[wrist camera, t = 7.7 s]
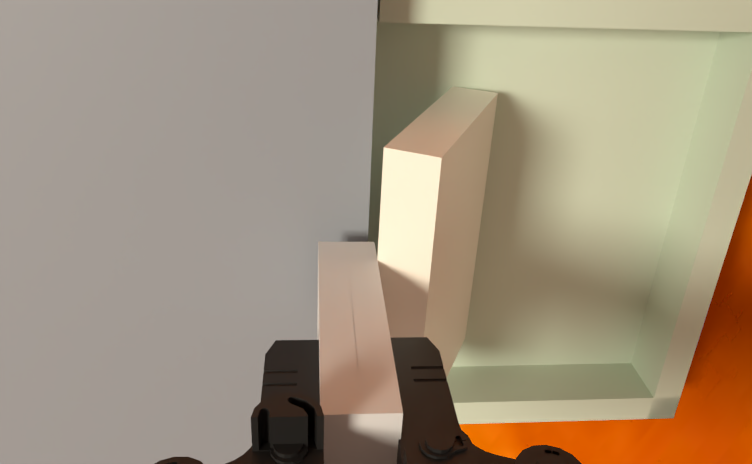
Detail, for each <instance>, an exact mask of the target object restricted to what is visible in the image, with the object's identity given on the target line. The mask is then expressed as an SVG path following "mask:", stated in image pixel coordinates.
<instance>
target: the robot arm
mask: <svg viewBox="0 0 752 464" xmlns="http://www.w3.org/2000/svg"><path fill="white" fill-rule="evenodd" d="M317 336H318V340H276V341H275V342H274V343H273V345H272V346H271V347H270V349H269V350H268V351H267V353H266V354H265V362H264V373H263V382H262V392H261V402H260V403H259V404H258V405H257V406H256V407H255V408H254V410H253V413H252V415H251V435H252V446H251V448H250V449H249V450H248V451H247V452H246V453H244V454H243V455H242V456H240V457H238V458H237V459H235V460H233V461H231V462H228V463H225V464H581V463H580V462H579V461H578V460H577V459H576V458H575V457H574V456H573V455H572V454H570V453H568V452H566V451H564V450H562V449H560V448H557V447H552V446H548V445H538V446H531V447H529V448H527V449H525V450H523V451H522V452H521V453H520V454H519V455H518V457H517V458H516V459H511V458H507V457H503V456H498V455H495V454H492V453H488V452H485V451H484V450H482V449H480V448H478V447H476V446H475V445H473V444H472V442H471V440H470V439H469V437H468V435H466V434H465V433H464V432H463V431H462V430H461V428H460V426H459V423H458V419H457V415H456V411H455V408H454V404H453V400H452V396H451V393H450V389H449V385H448V382H447V378H446V374H445V370H444V369H443V363H442V359H441V355H440V351H439V350H438V349H437V348H436V346H435V345H434V344H433V343H432V342H431V341H430V340H429V339H428V338H427V337H396V338H390V332H389V326H388V320H387V314H386V308H385V302H384V297H383V291H382V285H381V279H380V273H379V267H378V261H377V255H376V249H375V243H374V242H318V315H317ZM155 464H203V463H202V462H201V461H199V460H196V459H194V458H191V457H171V458H167V459H164V460H160V461H158V462H157V463H155Z"/></svg>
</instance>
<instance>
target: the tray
mask: <svg viewBox="0 0 752 464" xmlns="http://www.w3.org/2000/svg"><path fill="white" fill-rule="evenodd" d="M453 86H454V87H461V88H467V89H474V90H481V91H488V92H495V93H498V96H497V104H496V111H495V119H494V126H493V134H492V141H491V149H490V156H489V164H488V171H487V179H486V186H485V194H484V201H483V209H482V216H481V223H480V231H479V238H478V246H477V253H476V261H475V268H474V276H473V283H472V291H471V298H470V306H469V313H468V321H467V328H466V336H465V339H464V342H463V344H462V346H461V348H460V350H459V352H458V355H457V357H456V359H455V361H454V363H453V365H452V368H451V370H450V372H449V374H448V376H447V382H448V385H449V389H450V393H451V396H452V400H453V404H454V408H455V411H456V415H457V419H458V423H459V424H480V423H516V422H552V421H588V420H624V419H660V418H674V415H675V412H676V409H677V406H678V403H679V399H680V396H681V393H682V390H683V387H684V384H685V381H686V378H687V374H688V371H689V368H690V365H691V362H692V359H693V356H694V353H695V350H696V346H697V343H698V340H699V337H700V334H701V331H702V328H703V325H704V321H705V318H706V315H707V312H708V309H709V306H710V303H711V300H712V296H713V293H714V290H715V287H716V284H717V281H718V278H719V275H720V271H721V268H722V265H723V262H724V259H725V256H726V253H727V250H728V247H729V243H730V240H731V237H732V234H733V231H734V228H735V225H736V222H737V218H738V215H739V212H740V209H741V206H742V203H743V200H744V197H745V193H746V190H747V187H748V184H749V181H750V178H751V175H752V0H378V6H377V31H376V55H375V80H374V104H373V129H372V154H371V178H370V203H369V228H368V242H374V243H375V249H376V255H377V256H378V238H379V221H380V203H381V186H382V168H383V151H384V147H385V146H386V145H387V144H388V143H389V142H390V141H391V140H393V139H394V138H395V137H396V136H397V135H398V134H399V133H400V132H402V131H403V130H404V129H405V128H406V127H407V126H408V125H410V124H411V123H412V122H413V121H414V120H415V119H416V118H417V117H419V116H420V115H421V114H422V113H423V112H424V111H425V110H427V109H428V108H429V107H430V106H431V105H432V104H433V103H434V102H436V101H437V100H438V99H439V98H440V97H441V96H442V95H444V94H445V93H446V92H447V91H448V90H449V89H450V88H451V87H453Z"/></svg>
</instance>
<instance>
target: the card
mask: <svg viewBox="0 0 752 464" xmlns="http://www.w3.org/2000/svg"><path fill="white" fill-rule="evenodd" d="M497 96H498V93H495V92H488V91H481V90H474V89H467V88H461V87H454V86H453V87H451V88H450V89H449V90H448V91H447V92H446V93H445V94H444V95H442V96H441V97H440V98H439V99H438V100H437V101H436V102H434V103H433V104H432V105H431V106H430V107H429V108H428V109H427V110H425V111H424V112H423V113H422V114H421V115H420V116H419V117H417V118H416V119H415V120H414V121H413V122H412V123H411V124H410V125H408V126H407V127H406V128H405V129H404V130H403V131H402V132H400V133H399V134H398V135H397V136H396V137H395V138H394V139H393V140H391V141H390V142H389V143H388V144H387V145H386V146H385V147H384V151H383V168H382V186H381V203H380V221H379V238H378V256H377V261H378V267H379V273H380V279H381V285H382V291H383V297H384V302H385V308H386V314H387V320H388V326H389V332H390V338H396V337H427V338H428V339H429V340H430V341H431V342H432V343H433V344H434V345H435V346H436V348H437V349H438V350H439V351H440V355H441V359H442V363H443V369H444V370H445V374H446V378H447V376H448V374H449V372H450V370H451V368H452V365H453V363H454V361H455V359H456V357H457V355H458V352H459V350H460V348H461V346H462V344H463V342H464V339H465V336H466V328H467V321H468V313H469V306H470V298H471V291H472V283H473V276H474V268H475V261H476V253H477V246H478V238H479V231H480V223H481V216H482V209H483V201H484V194H485V186H486V179H487V171H488V164H489V156H490V149H491V141H492V134H493V126H494V119H495V111H496V104H497Z"/></svg>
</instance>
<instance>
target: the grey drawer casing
mask: <svg viewBox="0 0 752 464" xmlns="http://www.w3.org/2000/svg"><path fill="white" fill-rule="evenodd" d="M377 6H378V0H0V464H155V463H157V462H158V461H160V460H164V459H167V458H171V457H191V458H194V459H196V460H199V461H201V462H202V463H203V464H225V463H228V462H231V461H233V460H235V459H237V458H238V457H240V456H242V455H243V454H244V453H246V452H247V451H248V450H249V449H250V448H251V446H252V435H251V415H252V413H253V410H254V408H255V407H256V406H257V405H258V404H259V403H260V402H261V392H262V382H263V373H264V362H265V354H266V353H267V351H268V350H269V349H270V347H271V346H272V345H273V343H274V342H275V341H276V340H318V336H317V315H318V242H368V228H369V203H370V178H371V154H372V129H373V104H374V80H375V55H376V31H377Z"/></svg>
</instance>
